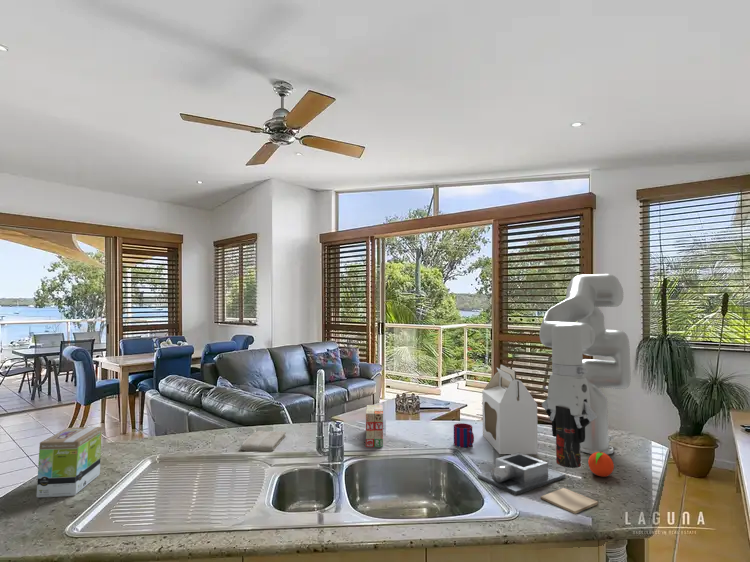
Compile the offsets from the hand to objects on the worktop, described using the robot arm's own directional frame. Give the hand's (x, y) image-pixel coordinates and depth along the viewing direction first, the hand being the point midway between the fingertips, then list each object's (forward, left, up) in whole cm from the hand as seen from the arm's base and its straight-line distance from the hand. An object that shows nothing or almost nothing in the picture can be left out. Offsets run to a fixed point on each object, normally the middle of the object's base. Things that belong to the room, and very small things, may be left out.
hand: (568, 438), depth 119 cm
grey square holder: (-2, -17, -16) cm, 24 cm away
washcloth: (+52, -89, -17) cm, 104 cm away
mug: (-8, -47, -17) cm, 50 cm away
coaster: (0, 0, -16) cm, 16 cm away
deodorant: (0, 0, -7) cm, 7 cm away
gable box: (-23, -40, -17) cm, 49 cm away
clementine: (-23, -5, -17) cm, 29 cm away
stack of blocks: (+14, -73, -17) cm, 76 cm away
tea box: (+111, -82, -17) cm, 139 cm away
